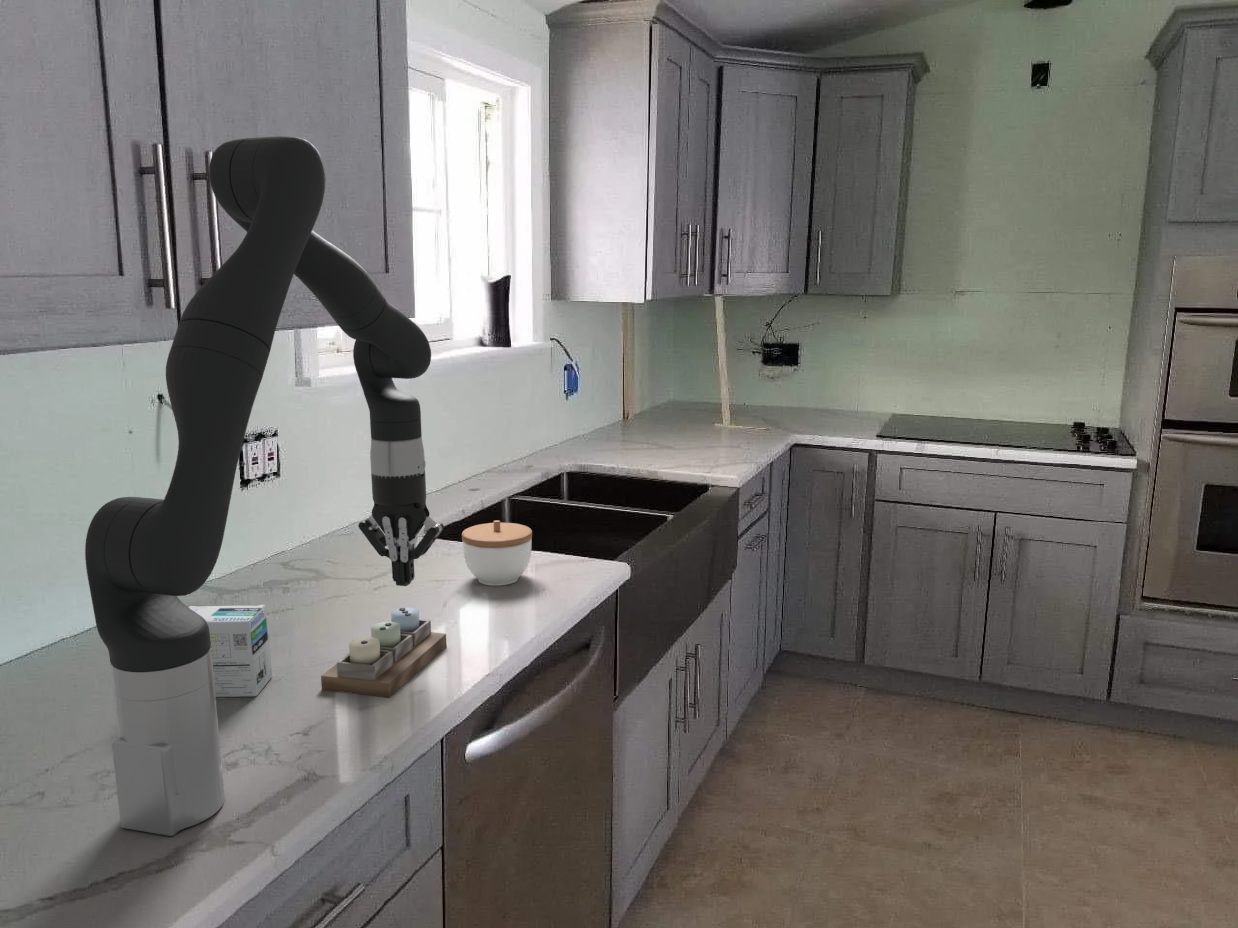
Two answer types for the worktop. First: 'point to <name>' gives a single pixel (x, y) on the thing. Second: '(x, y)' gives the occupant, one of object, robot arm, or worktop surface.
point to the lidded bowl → (497, 551)
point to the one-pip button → (364, 650)
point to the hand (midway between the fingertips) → (404, 584)
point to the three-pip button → (406, 619)
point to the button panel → (387, 665)
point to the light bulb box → (238, 648)
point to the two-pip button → (387, 633)
